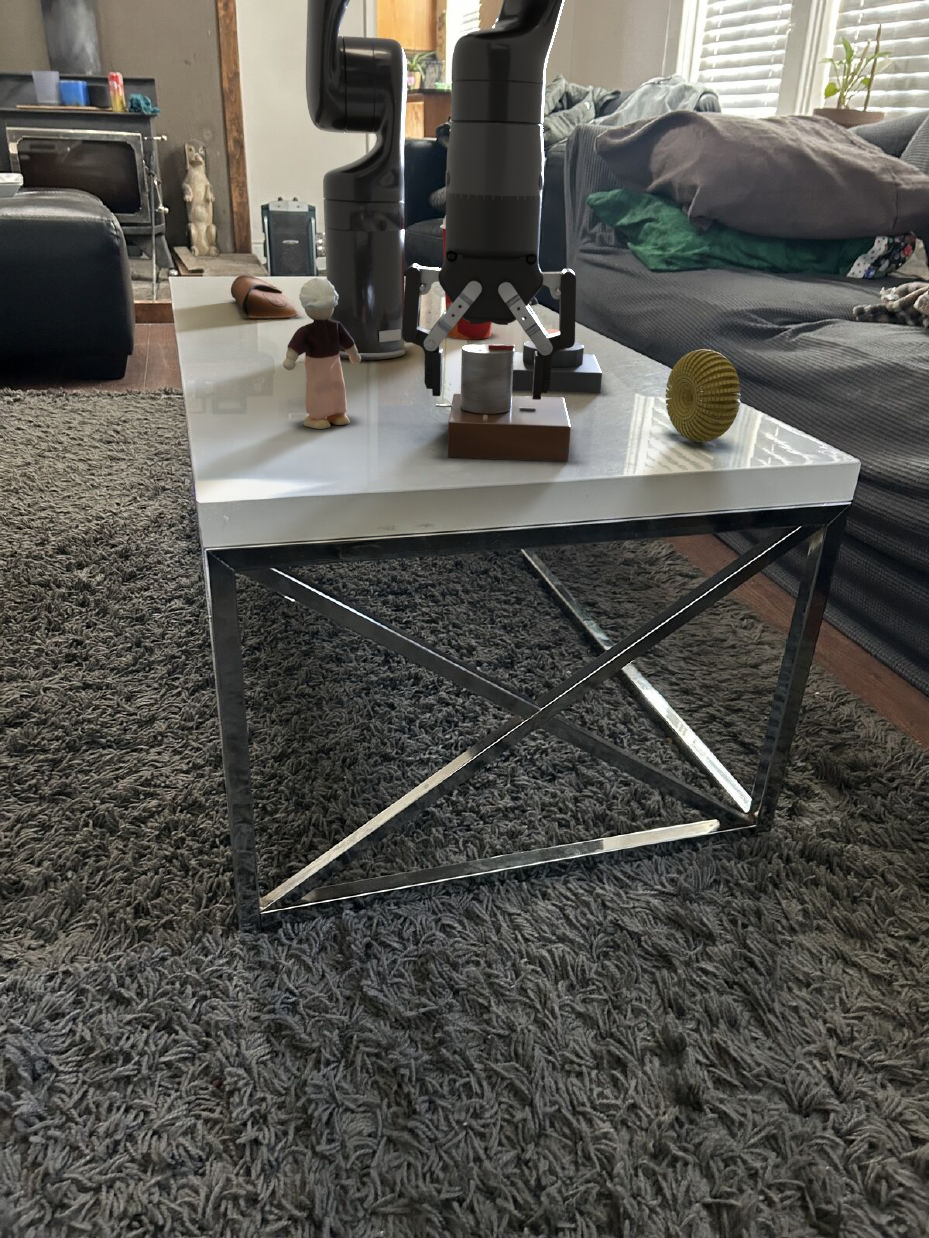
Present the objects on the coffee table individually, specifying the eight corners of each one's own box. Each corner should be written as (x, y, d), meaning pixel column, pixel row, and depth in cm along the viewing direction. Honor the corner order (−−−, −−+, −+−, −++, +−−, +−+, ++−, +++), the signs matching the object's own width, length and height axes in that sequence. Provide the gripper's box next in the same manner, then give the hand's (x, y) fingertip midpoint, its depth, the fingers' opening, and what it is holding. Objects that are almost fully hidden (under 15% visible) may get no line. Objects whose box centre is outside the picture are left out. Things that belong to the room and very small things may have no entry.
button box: (505, 370, 110) (507, 335, 109) (592, 373, 110) (595, 338, 108) (506, 390, 101) (507, 352, 100) (600, 393, 101) (603, 355, 99)
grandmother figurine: (338, 412, 91) (334, 272, 85) (367, 420, 89) (364, 277, 83) (276, 428, 86) (267, 279, 80) (305, 436, 84) (298, 284, 78)
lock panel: (438, 425, 88) (439, 391, 87) (561, 429, 88) (563, 395, 86) (431, 457, 79) (432, 419, 78) (568, 462, 79) (571, 424, 78)
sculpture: (652, 431, 88) (662, 342, 85) (687, 427, 90) (699, 340, 86) (704, 454, 82) (718, 360, 78) (742, 450, 83) (757, 357, 80)
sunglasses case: (302, 314, 139) (276, 273, 135) (262, 341, 138) (235, 300, 135) (284, 296, 154) (260, 259, 150) (247, 320, 154) (222, 283, 150)
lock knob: (460, 413, 80) (462, 349, 78) (460, 400, 84) (461, 339, 82) (512, 414, 80) (515, 350, 78) (510, 402, 84) (512, 340, 82)
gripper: (582, 190, 78) (567, 389, 85) (408, 184, 78) (407, 383, 85) (588, 194, 71) (571, 410, 78) (398, 188, 71) (398, 403, 79)
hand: (486, 396), depth 82 cm, fingers open, 8 cm apart
